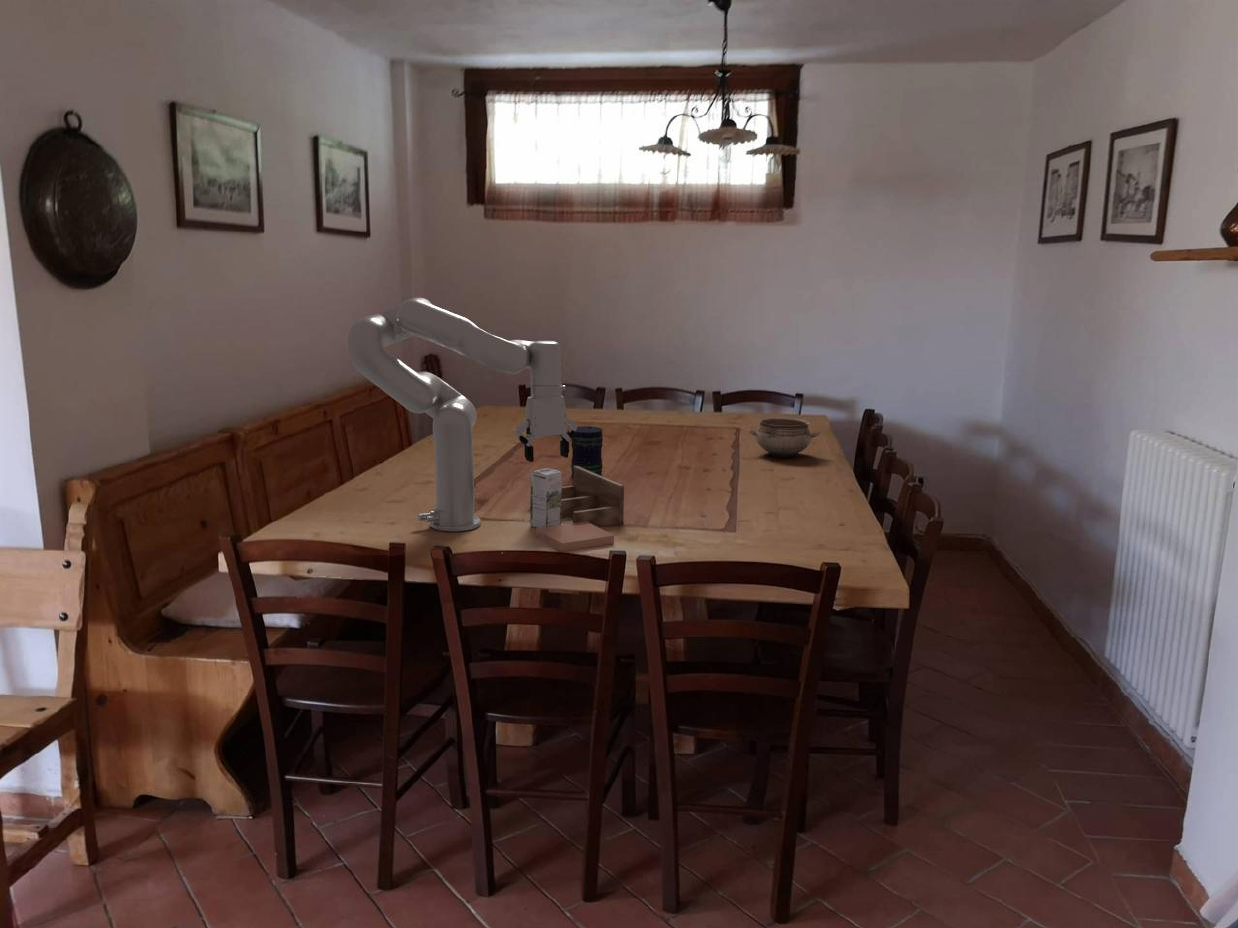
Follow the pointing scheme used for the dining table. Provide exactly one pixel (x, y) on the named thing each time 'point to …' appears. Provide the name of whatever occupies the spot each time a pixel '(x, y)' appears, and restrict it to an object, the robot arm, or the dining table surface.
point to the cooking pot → (783, 435)
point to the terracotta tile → (574, 536)
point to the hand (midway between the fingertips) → (547, 458)
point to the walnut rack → (593, 499)
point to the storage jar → (587, 449)
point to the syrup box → (545, 498)
